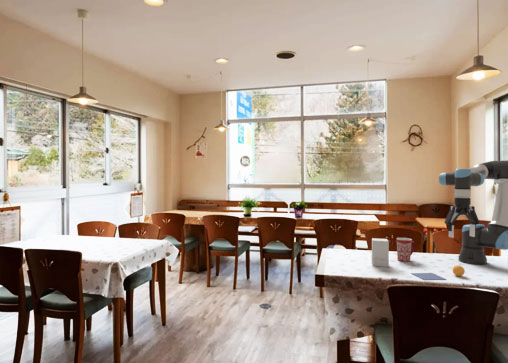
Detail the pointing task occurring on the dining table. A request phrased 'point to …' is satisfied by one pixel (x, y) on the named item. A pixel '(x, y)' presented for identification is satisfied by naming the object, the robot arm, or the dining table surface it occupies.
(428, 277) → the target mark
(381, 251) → the supplement box
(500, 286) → the dining table surface
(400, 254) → the mug
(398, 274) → the dining table surface
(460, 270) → the ball
